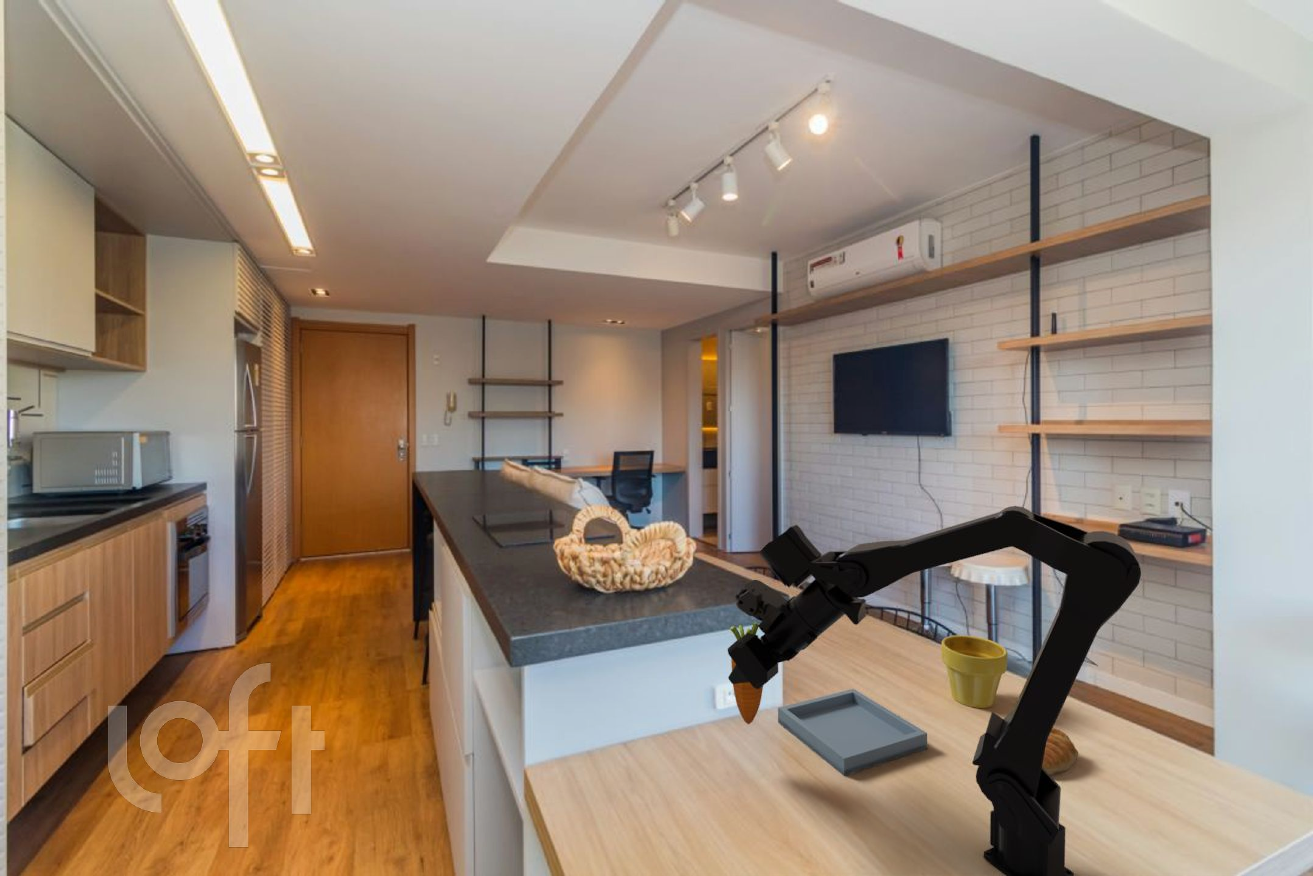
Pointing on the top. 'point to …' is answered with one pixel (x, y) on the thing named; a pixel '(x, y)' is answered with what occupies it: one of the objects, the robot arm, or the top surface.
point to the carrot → (746, 685)
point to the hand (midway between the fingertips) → (739, 674)
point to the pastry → (1058, 752)
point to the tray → (851, 730)
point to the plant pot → (973, 668)
